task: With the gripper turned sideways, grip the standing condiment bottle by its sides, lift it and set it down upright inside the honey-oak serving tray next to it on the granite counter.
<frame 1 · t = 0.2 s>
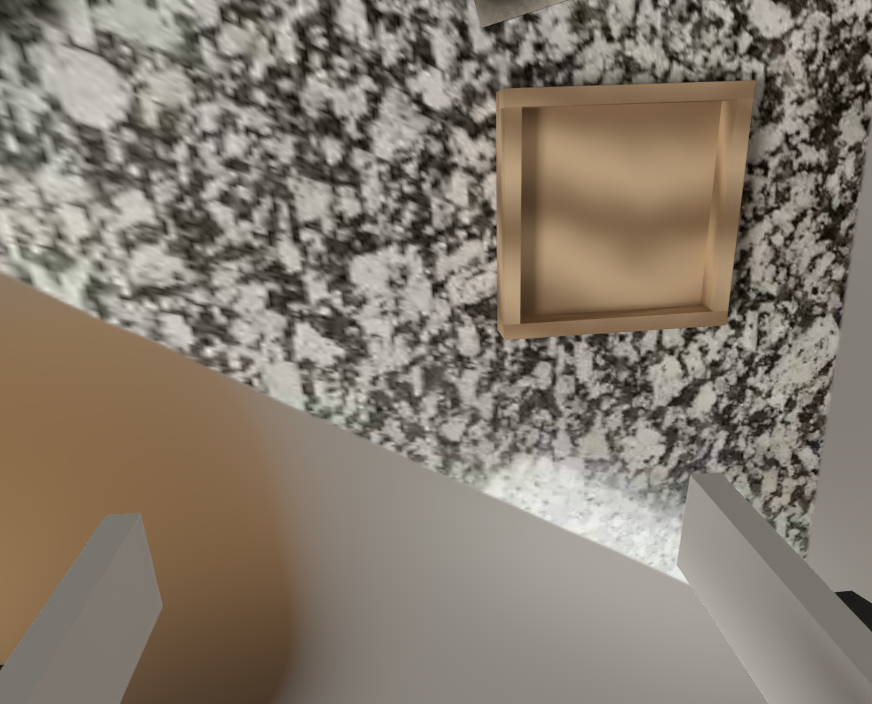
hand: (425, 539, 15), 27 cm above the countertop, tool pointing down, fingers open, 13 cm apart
tray: (609, 212, 40), on the countertop
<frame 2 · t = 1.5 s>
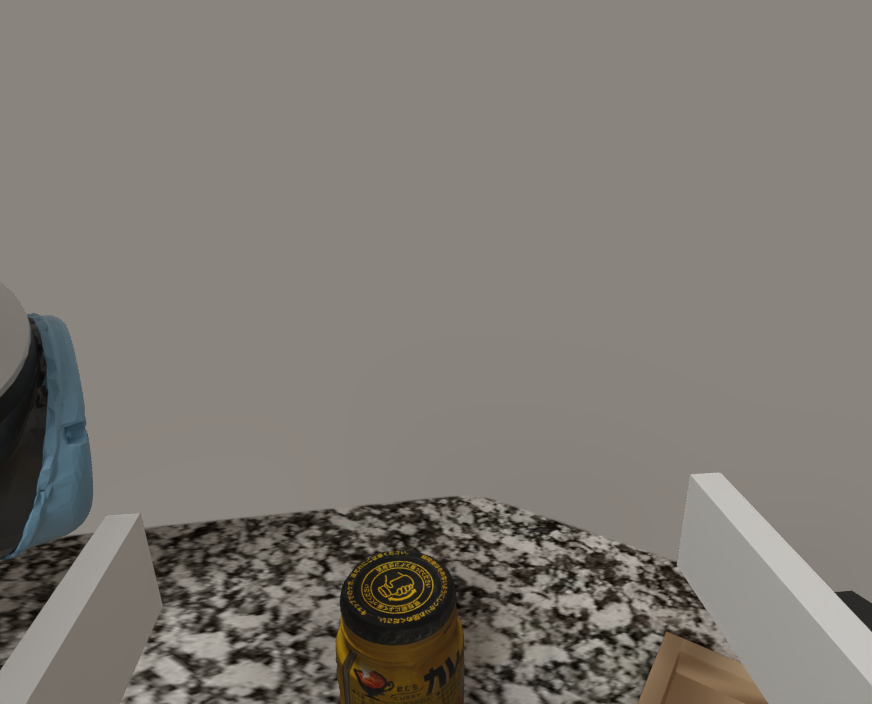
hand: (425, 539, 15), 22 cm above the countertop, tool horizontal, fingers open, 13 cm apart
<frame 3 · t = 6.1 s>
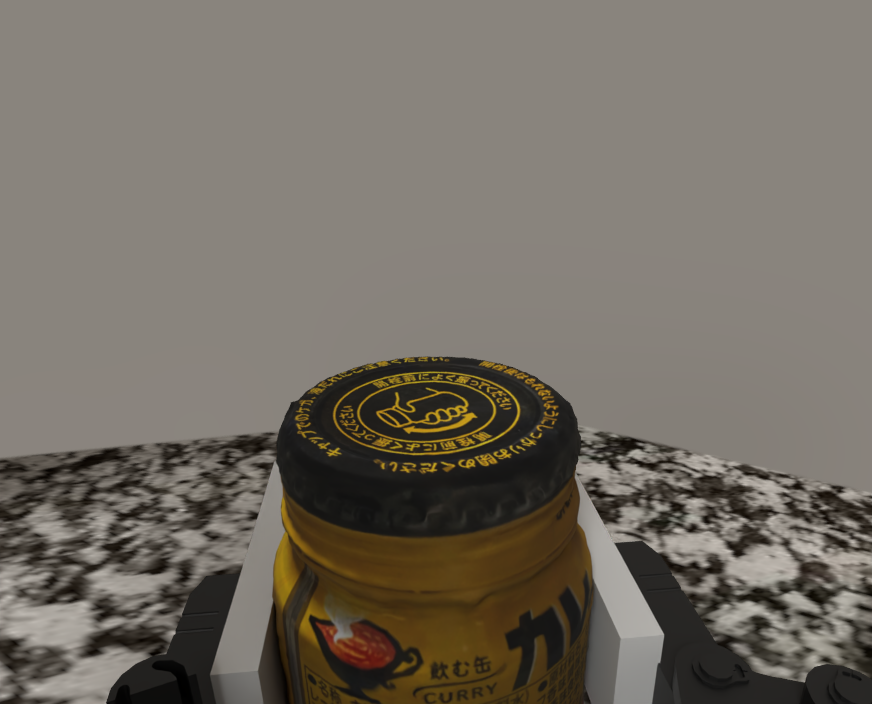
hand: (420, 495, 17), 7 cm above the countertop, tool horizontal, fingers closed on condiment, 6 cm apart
when the fingers open (9 cm above the countertop, at t = 10.8 s): condiment drops 2 cm, resting on tray.
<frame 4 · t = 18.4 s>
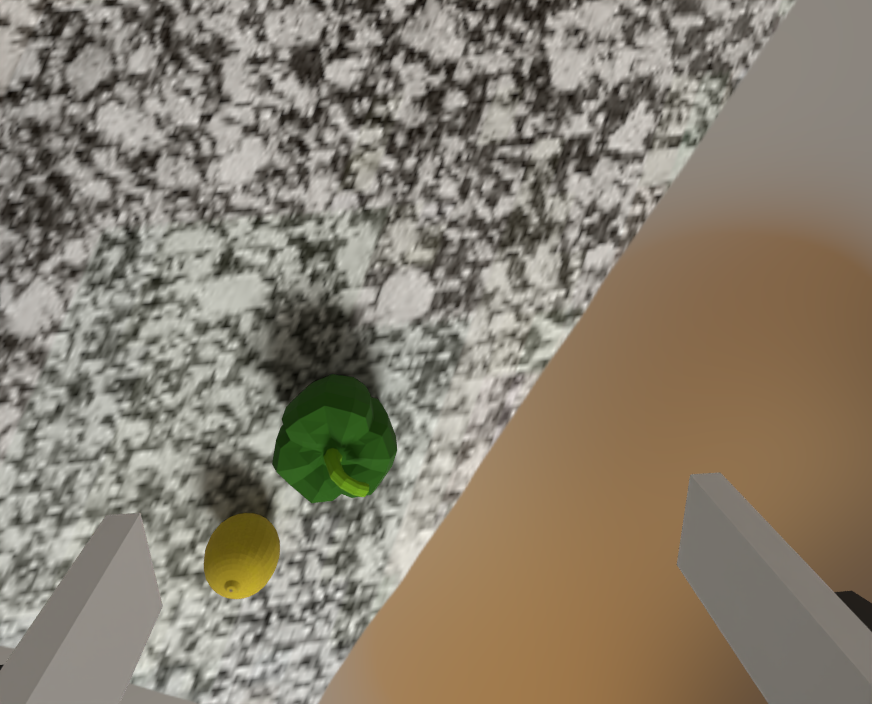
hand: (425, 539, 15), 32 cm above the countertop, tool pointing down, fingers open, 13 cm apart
bell pepper: (339, 408, 49), on the countertop
lemon: (253, 520, 52), on the countertop
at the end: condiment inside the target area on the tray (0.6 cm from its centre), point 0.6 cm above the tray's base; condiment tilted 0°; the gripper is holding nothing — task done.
